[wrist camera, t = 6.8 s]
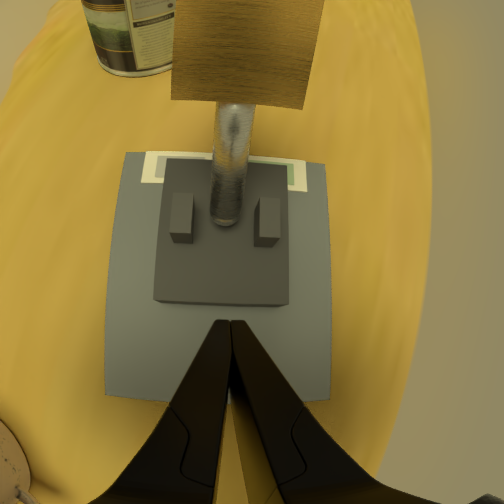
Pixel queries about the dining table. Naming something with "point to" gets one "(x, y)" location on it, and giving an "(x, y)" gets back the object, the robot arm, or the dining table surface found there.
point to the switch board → (184, 329)
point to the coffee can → (132, 35)
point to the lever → (241, 75)
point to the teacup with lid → (13, 471)
